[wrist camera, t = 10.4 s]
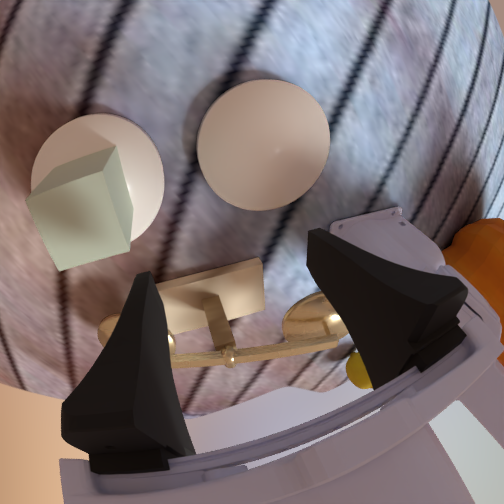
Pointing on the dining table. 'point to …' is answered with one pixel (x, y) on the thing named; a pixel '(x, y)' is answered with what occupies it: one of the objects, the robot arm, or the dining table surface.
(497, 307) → the decorative pumpkin
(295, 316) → the balance beam
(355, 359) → the lemon
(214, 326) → the balance stand
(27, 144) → the dining table surface
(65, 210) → the block
